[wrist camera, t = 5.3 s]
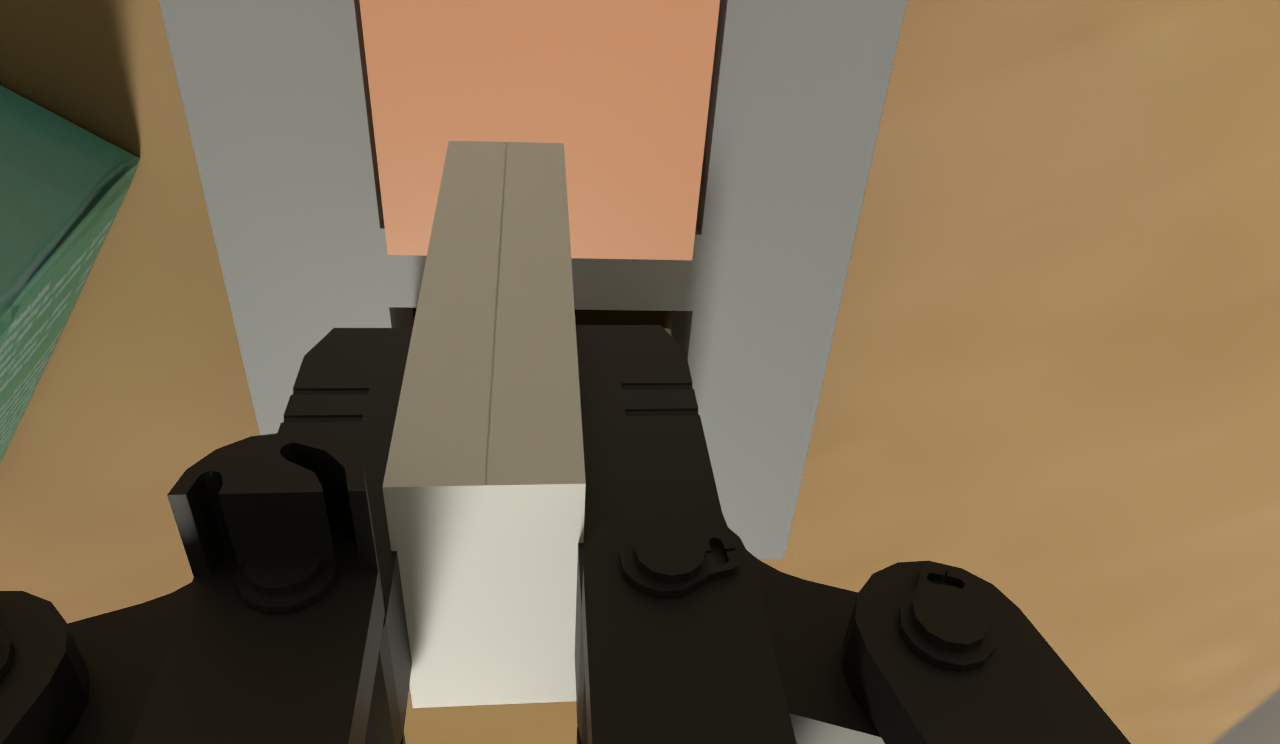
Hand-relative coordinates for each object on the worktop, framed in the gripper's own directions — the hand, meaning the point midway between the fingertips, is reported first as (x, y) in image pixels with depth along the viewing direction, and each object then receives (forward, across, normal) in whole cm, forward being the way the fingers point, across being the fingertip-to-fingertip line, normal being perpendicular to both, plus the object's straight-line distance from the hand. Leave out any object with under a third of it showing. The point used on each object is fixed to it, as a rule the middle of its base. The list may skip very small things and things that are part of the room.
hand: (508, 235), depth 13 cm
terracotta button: (+9, +1, 0) cm, 9 cm away
